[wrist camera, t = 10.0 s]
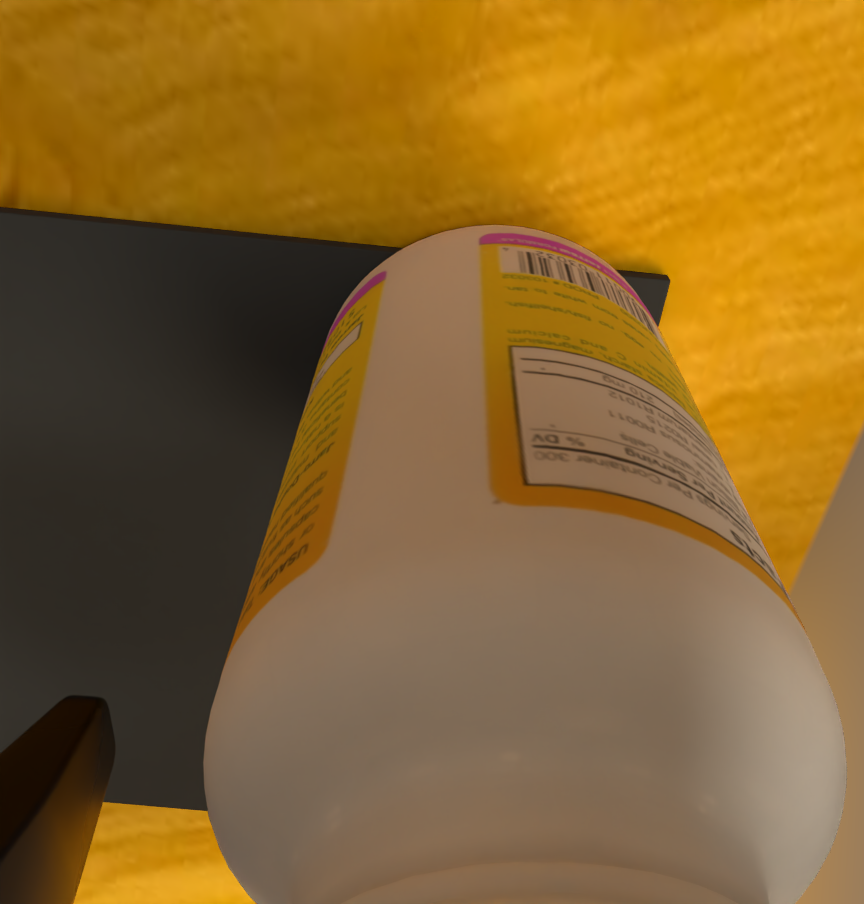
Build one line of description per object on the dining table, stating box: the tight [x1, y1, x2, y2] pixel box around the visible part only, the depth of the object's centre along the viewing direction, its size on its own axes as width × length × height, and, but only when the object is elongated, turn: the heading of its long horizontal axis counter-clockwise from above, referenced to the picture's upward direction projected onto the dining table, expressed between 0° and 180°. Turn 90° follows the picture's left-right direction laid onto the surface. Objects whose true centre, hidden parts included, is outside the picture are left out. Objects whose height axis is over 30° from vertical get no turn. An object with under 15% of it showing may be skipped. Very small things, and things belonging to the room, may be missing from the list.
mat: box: [0, 207, 670, 811], centre depth 20 cm, size 18×18×1 cm
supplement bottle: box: [203, 225, 847, 904], centre depth 11 cm, size 7×7×13 cm
